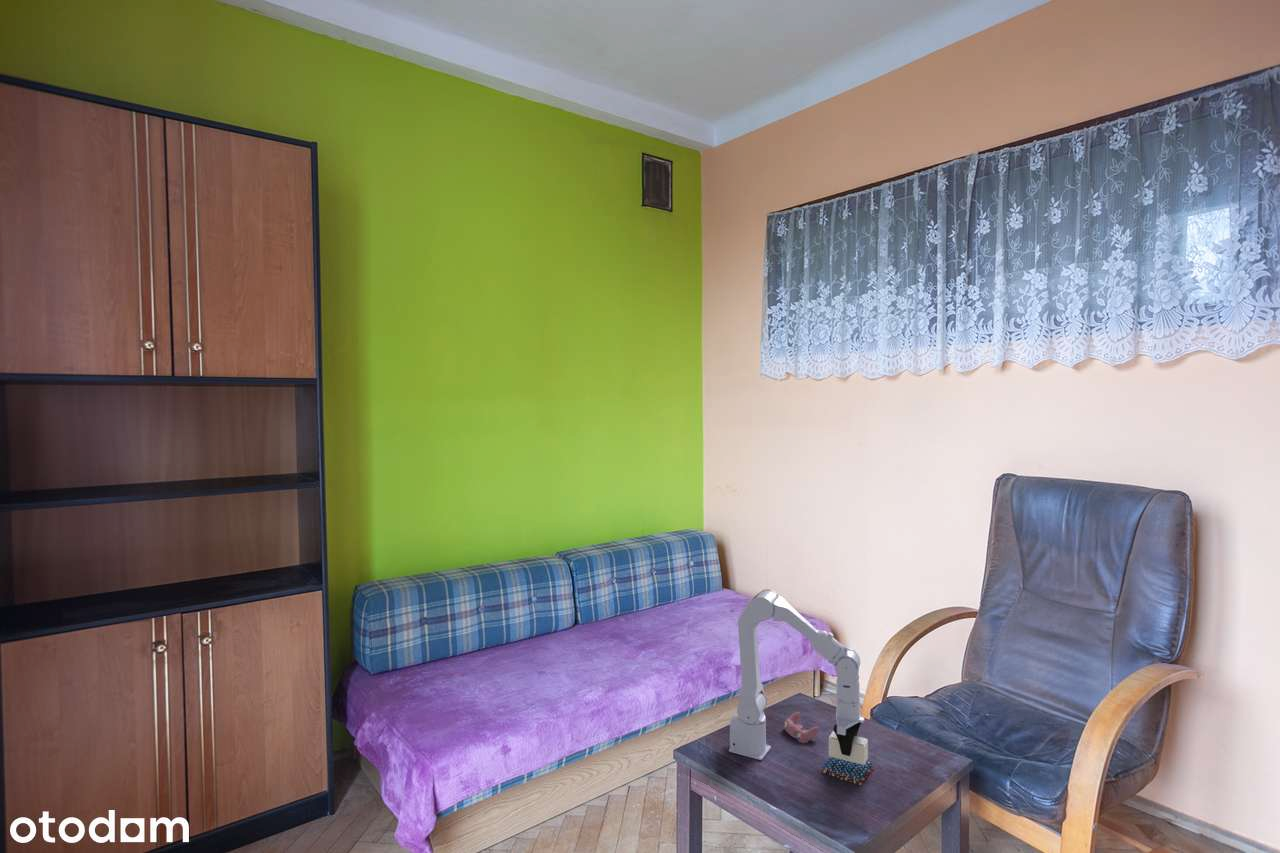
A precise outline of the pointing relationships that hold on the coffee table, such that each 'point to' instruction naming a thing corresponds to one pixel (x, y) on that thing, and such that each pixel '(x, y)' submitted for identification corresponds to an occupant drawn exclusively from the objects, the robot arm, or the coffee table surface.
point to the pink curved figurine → (799, 729)
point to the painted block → (857, 753)
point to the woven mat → (848, 770)
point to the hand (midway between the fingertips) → (848, 750)
